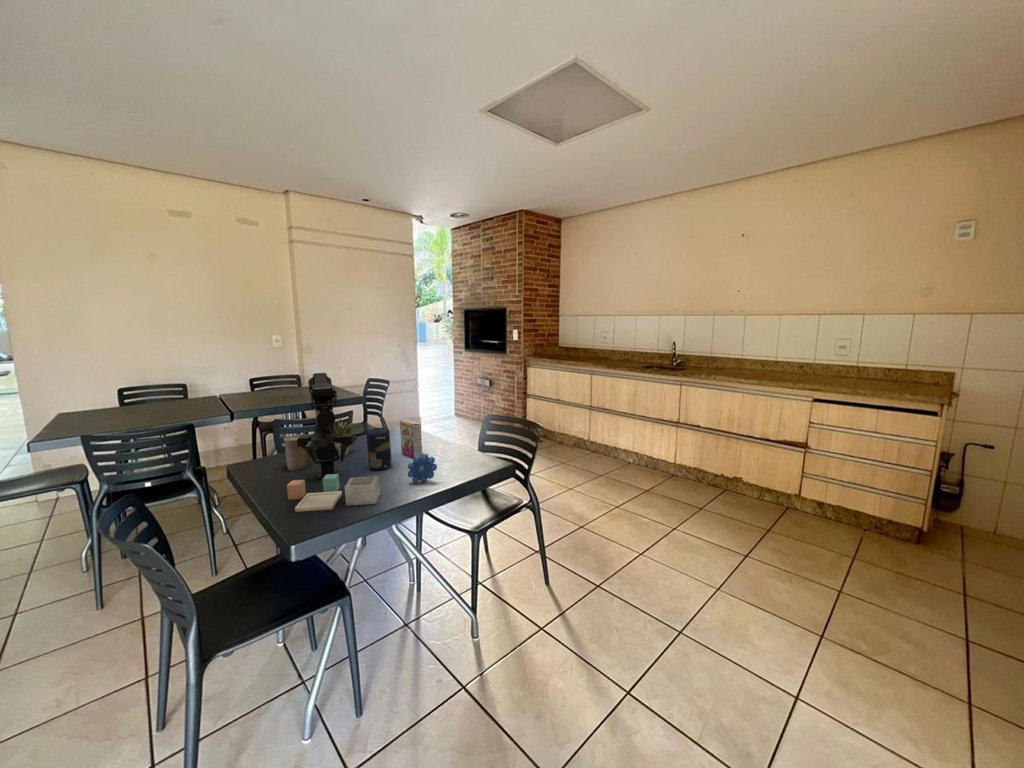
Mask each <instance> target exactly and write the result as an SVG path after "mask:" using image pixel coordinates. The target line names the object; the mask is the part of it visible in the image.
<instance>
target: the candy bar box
mask: <svg viewBox="0 0 1024 768" xmlns="http://www.w3.org/2000/svg"><path fill="white" fill-rule="evenodd" d="M421 425H422V424H421V423H420V422H417V421H414V420H411V419H403V420H400V421H399V428H400V429H399V430H400V433H399V434H400V444H401V445H400V446H401V447H400V448H401V454H402V455H404V456H406V457H408V458H411V459H413V458H414V457H415V456H420V458H421V455H423V447H422V444H423V443H422V428H421V427H422V426H421Z"/></svg>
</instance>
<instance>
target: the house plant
mask: <svg viewBox="0 0 1024 768" xmlns="http://www.w3.org/2000/svg"><path fill="white" fill-rule="evenodd" d="M347 423H348V421H346V422H345V423H344V424H343V421H341V422H340V421H338V428H337V427H336V426H335V432H336V435H335V437H337V436H342V435H343V434H344V433H351V432H352V431H354V430H356V428H352V425H353V422H352V423H350V424H348V425H347ZM346 425H347V426H346ZM345 427H346V428H345ZM344 428H345V429H344ZM334 443H335V447H337V448H338V449H339V457H341V449H340V445H341V443H340V442H334ZM347 454H349V447H348V448H347V451H346V454H345V456H346V455H347Z"/></svg>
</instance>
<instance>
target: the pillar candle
mask: <svg viewBox="0 0 1024 768" xmlns="http://www.w3.org/2000/svg"><path fill="white" fill-rule="evenodd" d="M302 435H308V434H306V433H298V434H291V435H288V436H286V437H284V438H283V443H284V449H285V451H284V452H285V459H286V467H287V470H288V471H300V470H304V469H308V468H310V467H312V465H313V464H312V458H311V456H310V455H309V453H308V452H307V451H306V450H305V449H301V447H297V444H296V441H297V439H298V438H299V437H301V436H302Z"/></svg>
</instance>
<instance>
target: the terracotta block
mask: <svg viewBox="0 0 1024 768" xmlns="http://www.w3.org/2000/svg"><path fill="white" fill-rule="evenodd" d="M286 490H287V491H286V492H287V499H288V500H289V501H291V500H302V499H303V498H304V497H305V495H306V494H307V491H306V490H307V489H306V482H305V479H295V480H291V481H290V482H289V483H287V485H286Z"/></svg>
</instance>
